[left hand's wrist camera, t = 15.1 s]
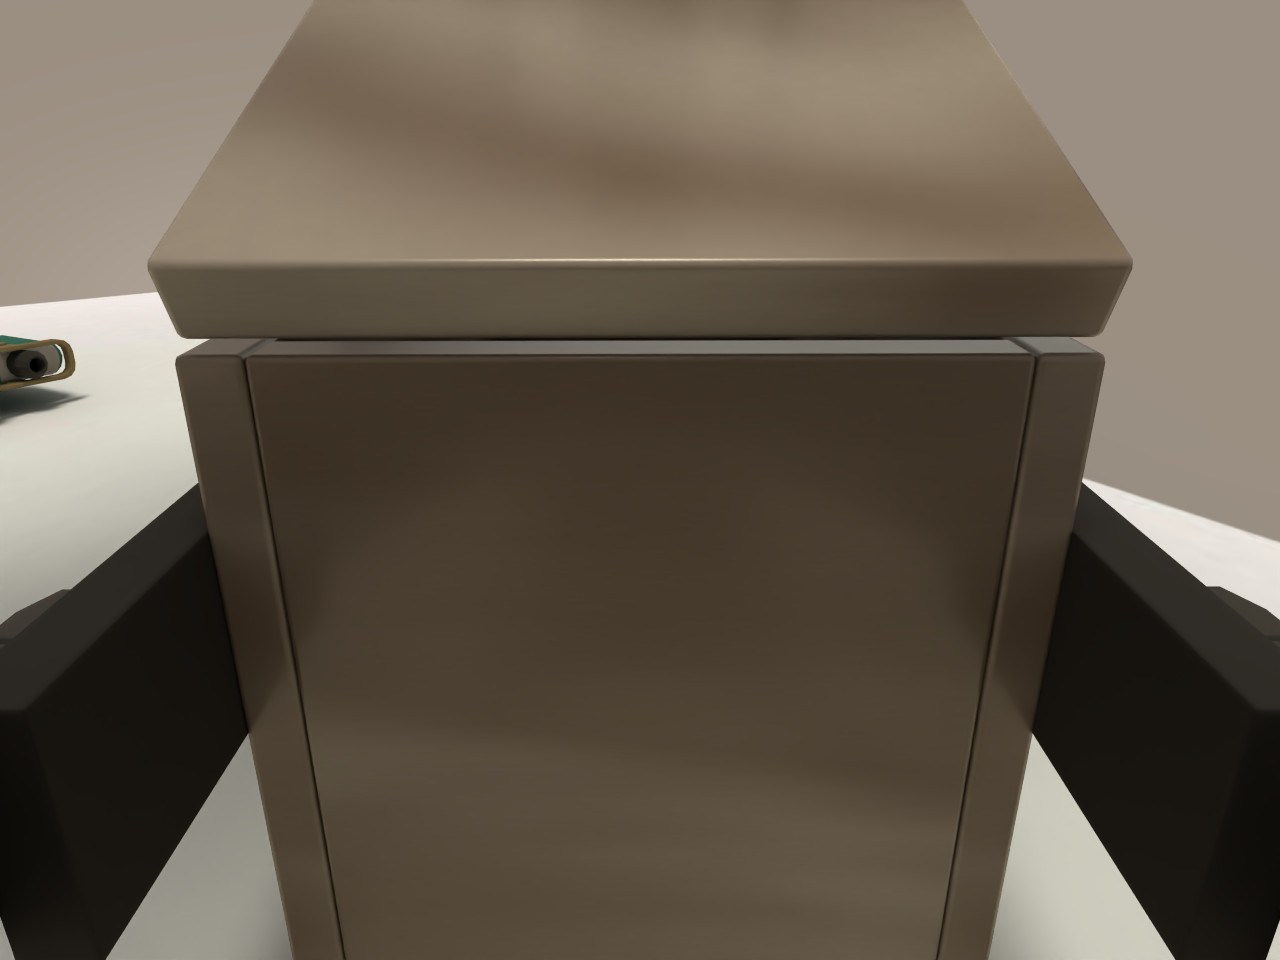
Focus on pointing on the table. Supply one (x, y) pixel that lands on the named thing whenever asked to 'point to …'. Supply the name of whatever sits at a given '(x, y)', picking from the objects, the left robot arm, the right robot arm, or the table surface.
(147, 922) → the table surface
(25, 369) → the spray gun
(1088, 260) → the lid
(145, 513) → the table surface
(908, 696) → the chest
